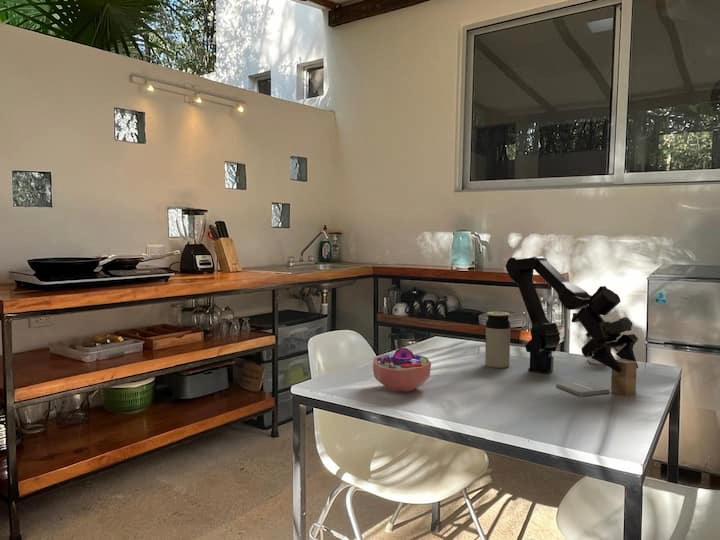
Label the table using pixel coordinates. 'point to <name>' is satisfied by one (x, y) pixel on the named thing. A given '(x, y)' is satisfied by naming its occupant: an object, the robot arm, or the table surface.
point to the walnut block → (624, 378)
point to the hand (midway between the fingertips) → (628, 370)
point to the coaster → (582, 388)
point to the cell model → (402, 370)
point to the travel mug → (497, 340)
